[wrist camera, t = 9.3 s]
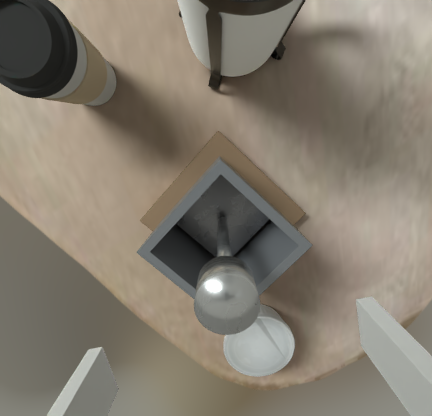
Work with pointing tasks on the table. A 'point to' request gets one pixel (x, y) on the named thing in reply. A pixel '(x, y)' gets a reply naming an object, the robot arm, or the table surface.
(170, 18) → the table surface
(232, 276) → the plunger
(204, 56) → the coffee press
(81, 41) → the coffee cup
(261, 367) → the ramekin
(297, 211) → the square grey bin
